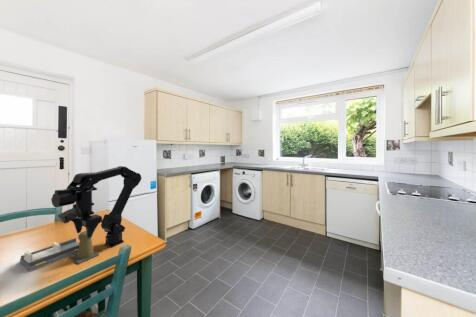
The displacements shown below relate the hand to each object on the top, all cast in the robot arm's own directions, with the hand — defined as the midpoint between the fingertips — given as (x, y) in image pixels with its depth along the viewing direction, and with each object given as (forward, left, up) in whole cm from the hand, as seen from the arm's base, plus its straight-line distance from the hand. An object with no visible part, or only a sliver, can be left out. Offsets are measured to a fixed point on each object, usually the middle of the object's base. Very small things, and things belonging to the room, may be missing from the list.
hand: (83, 235), depth 85 cm
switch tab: (+10, -13, -9) cm, 18 cm away
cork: (-1, 0, -10) cm, 10 cm away
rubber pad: (0, 0, -10) cm, 10 cm away
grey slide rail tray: (+6, -13, -10) cm, 17 cm away
